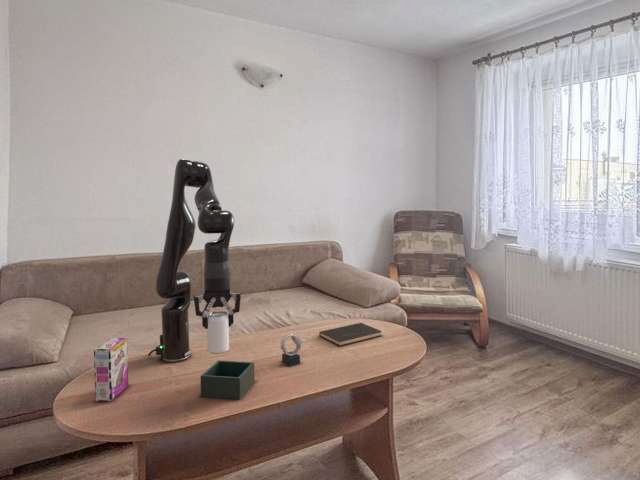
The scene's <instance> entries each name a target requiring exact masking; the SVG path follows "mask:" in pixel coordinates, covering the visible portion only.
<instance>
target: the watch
mask: <svg viewBox="0 0 640 480" xmlns="http://www.w3.org/2000/svg"><path fill="white" fill-rule="evenodd" d="M289 338H291V341H292V342H293V343H294V344H295V345H296V347H295V349H294V350H293V351H292V350H291V351H288V350H287V348H286V345H285V343H286V342H287V340H288V339H289ZM302 344H303V341H302V339H301V338H300V337H299V335H298V334H295V333H287V334H285V335H284V336H283V337H282V339H281V341H280V349H281V351H282V352H283V353H281V362H282V363H283V364H285V365H287V366H288V367H292V366H293V367H294V366H296V365H300V364H301V355H300V354H298V353H299V352H300V350H301V348H302Z"/></svg>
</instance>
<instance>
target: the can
mask: <svg viewBox="0 0 640 480" xmlns="http://www.w3.org/2000/svg"><path fill="white" fill-rule="evenodd" d="M206 335H207V336H206V337H207V338H206V339H207V340H206V341H207V342H206V344H207V345H206V346H207V352H208V353H210V354H216V355H218V354H219V355H220V354H224V353H226V352H228V351H229V350H230V326H229V317H228V311H225V310H216V311H215V310H214V311H210V312H208V314H207V329H206Z"/></svg>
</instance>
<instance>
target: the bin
mask: <svg viewBox="0 0 640 480" xmlns="http://www.w3.org/2000/svg"><path fill="white" fill-rule="evenodd" d="M254 383H255V362H253V361H236V360H220V359H219V360H217V361H216V362H214V364H212V365H211V366H210V367H209V368H207V370H205V371H204V372H203V373H202V374H201V375H200V397H202V398H215V399H216V398H217V399H231V400H241V399H242V397H244V395H245V394H246V393H247V391H248V390H250V388H251V386H252V385H253V384H254Z"/></svg>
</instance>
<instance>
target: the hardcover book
mask: <svg viewBox="0 0 640 480" xmlns="http://www.w3.org/2000/svg"><path fill="white" fill-rule="evenodd" d="M318 335H319V338H322V339H324V340H327V341H328V342H330V343H332V344H334V345H335V346H338V347H344V346H348V345H351V344H356V343H359V342H363V341H367V340H371V339H376V338H380V337H383V336H382V330H380V329H378V328H376V327H372V326H370V325H368V324H365V323H363V322H358V323H354V324H353V323H352V324H348V325H344V326H339V327H334V328H330V329H326V330H325V329H324V330H321V331H319V334H318Z"/></svg>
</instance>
